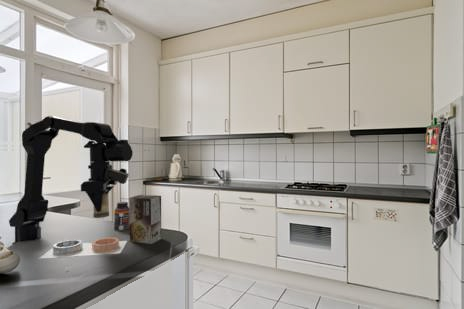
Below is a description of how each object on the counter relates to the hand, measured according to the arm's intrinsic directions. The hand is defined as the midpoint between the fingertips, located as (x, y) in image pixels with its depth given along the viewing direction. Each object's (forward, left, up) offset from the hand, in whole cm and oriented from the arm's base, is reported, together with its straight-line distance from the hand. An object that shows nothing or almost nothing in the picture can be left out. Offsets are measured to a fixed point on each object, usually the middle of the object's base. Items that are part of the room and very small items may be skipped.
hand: (101, 210), depth 88 cm
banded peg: (0, 0, -2) cm, 2 cm away
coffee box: (+13, +4, -13) cm, 19 cm away
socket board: (-4, -2, -13) cm, 13 cm away
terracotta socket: (+2, -2, -12) cm, 12 cm away
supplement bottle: (+2, +21, -13) cm, 25 cm away
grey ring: (-9, -2, -12) cm, 15 cm away
